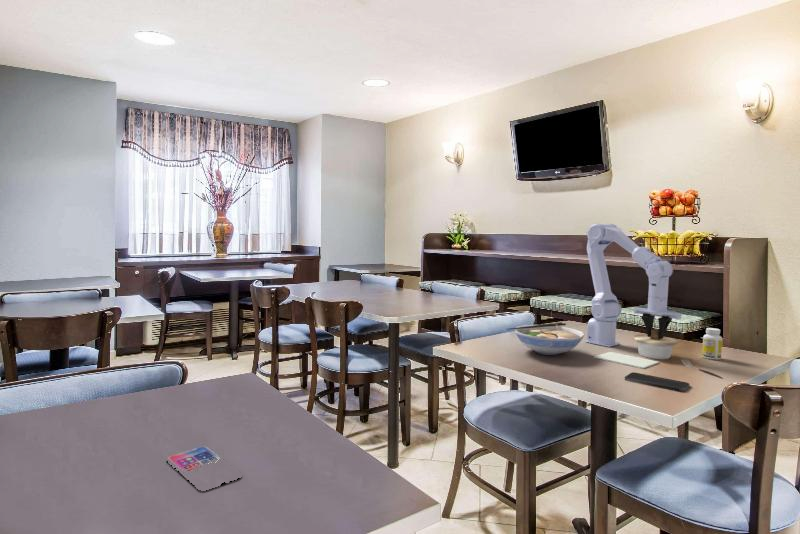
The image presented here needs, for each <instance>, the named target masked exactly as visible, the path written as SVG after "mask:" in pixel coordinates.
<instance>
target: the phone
mask: <svg viewBox="0 0 800 534" xmlns="http://www.w3.org/2000/svg"><path fill="white" fill-rule="evenodd" d="M624 380H625V381H627V382H630V383H631V382H632V383H635V384H639V385H640V384H641V385H645V386H648V387H649V386H650V387H655V388H660V389H664V390H670V391H673V390H674V392H680V393H684V392H685V391H687V390H688V389H689V388H690V383H689V382H685V381H680V380H675V379H671V378H666V377H659V376H655V375H649V374H645V373H640V372H639V373H638V372H634V371H632V372H630V373H628V374H627V375H625V376H624Z"/></svg>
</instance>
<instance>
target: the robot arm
mask: <svg viewBox="0 0 800 534" xmlns="http://www.w3.org/2000/svg"><path fill="white" fill-rule="evenodd" d="M586 235H587V243H586V253H587V257H588V263H589V267H590V273H591V278H592V283H593V287H594V292H595V295H594V296H593V298H592V299H591V305H592V306H591V309H590V310H591V314H592V316H593V317H591V318H590V319H589V320H588V321H587V327H586V340H585V343H589V344H593V345H598V346H603V347H609V348H611V347H614V346H618V345H620V342H617V341H616V334H617V321H618V318H619V317H620V316H621V314H622V307H621V304H620V303H619V302H618V298H617V296H616V295H615V294H614V293H613V292H612V288H611V283H610V279H609V278H610V277H609V274H608V273H609V272H608V269H607V265H606V264H607V263H606V258H605V254H604V250H605V249H606V248H607V247H608V246H609V245H610V244H612V243H613V242H614V243H616V244H617V245H618V246H620V247H621V248H622V249H624V250H625V251H627V252H629V254H631V259H632V260H633V261H634V262H635V263H636V264H638V265H639V266H640V267H641V268H642V269H644V270H645V274H646V275H647V277H648V297H647V307H640V306H639V307H638V306H637V307H636V306H635V307H633V314H639V315H641V316H640V317H641V320H642V322H643V325H644V327H645V331H646V335H647V336H648V337H651V329H654V322H655V319H656V317H658V319H657V320H658V329H659V339H663V337H665V334H666V332H667V331H666V330H667V328H668V327H669V325H670V323H671V322H672V320H673V319H675V320H681V319H682V313H681V312H676V311H671V310H667V309H668V297H669V281H670V279H669V278H670V277H671V276H672V275H673V273H674V268H673V265H672V264H671V263H670V262H669V260H662V258H661V256H657V255H656V254H654V253H653V252H652V251H651V248H650V247H648V246H647V247H646V246H639V245H638V244H636V243H635V241H634V240H632V238H630V237H629V236H628V235H626V233H624V232H623V230H622V229H621V228H620V227H618V226H617V225H615V224H614V223H593V224H592V225H590V227H589V228H588V229H587V231H586Z"/></svg>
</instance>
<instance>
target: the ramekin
mask: <svg viewBox="0 0 800 534" xmlns="http://www.w3.org/2000/svg"><path fill="white" fill-rule="evenodd" d="M636 343H637V351H638V354H639V355H640V357H642V358H643V357H644V358H646V359H648V358H649V359H652V360H668V359H670V357H671V356H672V354H673V353H672V352H673V349H674V346H675V345H654V344H647V343H642V342H639V341H636Z"/></svg>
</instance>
